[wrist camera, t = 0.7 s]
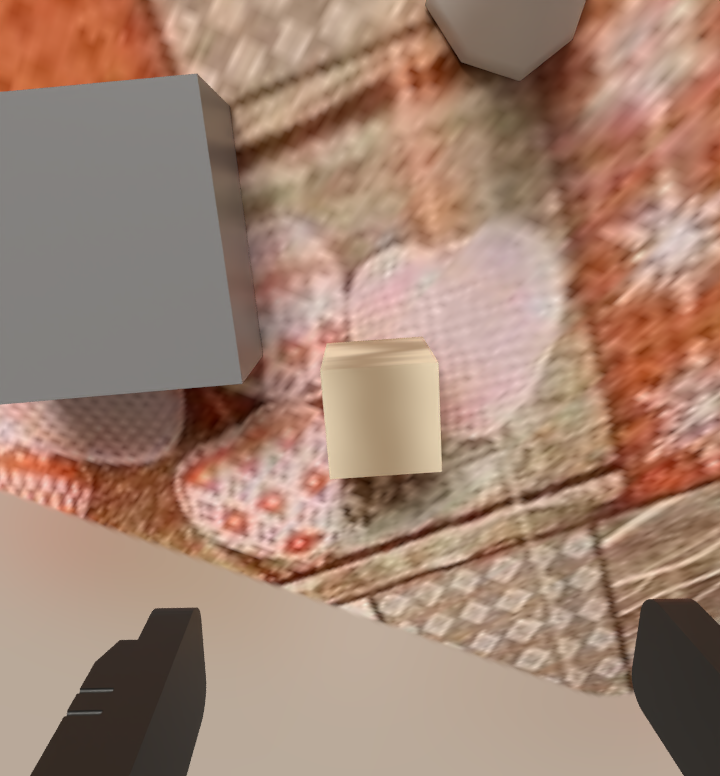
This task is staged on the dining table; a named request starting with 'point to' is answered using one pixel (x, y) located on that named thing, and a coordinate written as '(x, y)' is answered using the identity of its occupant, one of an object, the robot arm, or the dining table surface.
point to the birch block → (381, 408)
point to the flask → (506, 31)
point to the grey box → (122, 242)
